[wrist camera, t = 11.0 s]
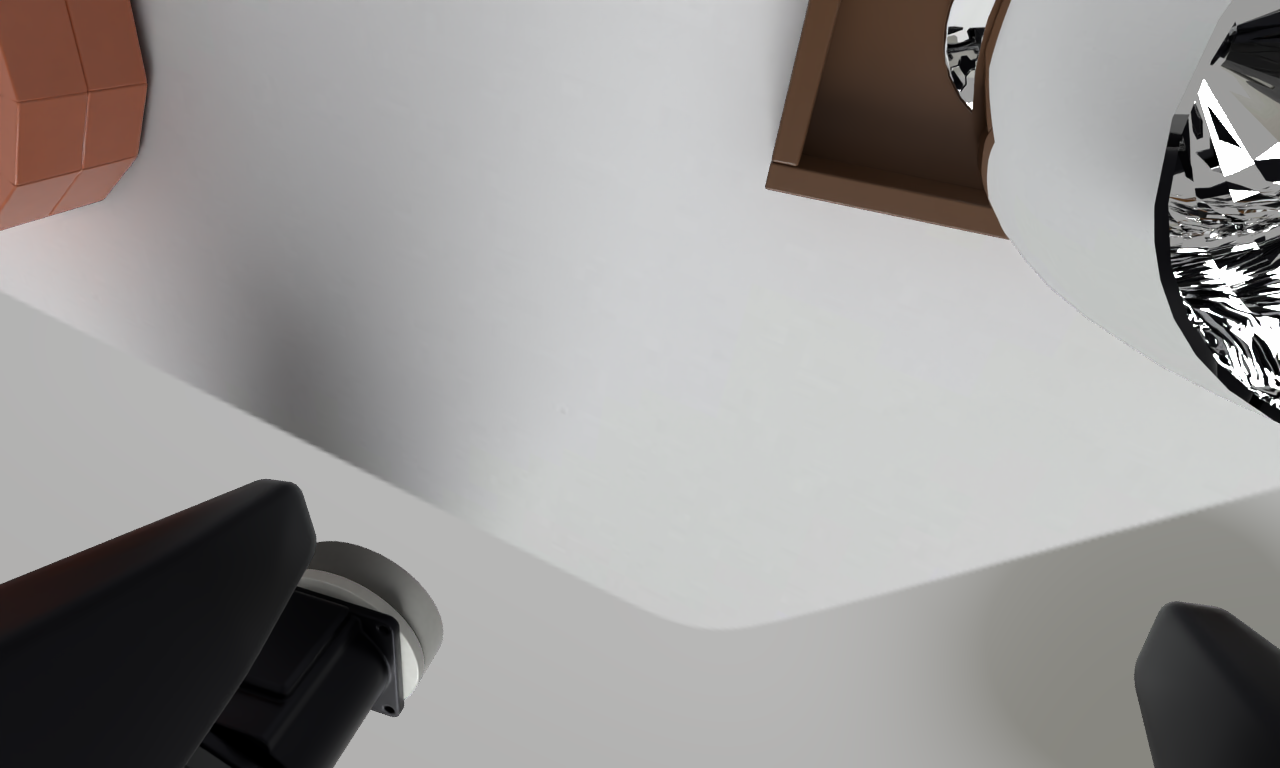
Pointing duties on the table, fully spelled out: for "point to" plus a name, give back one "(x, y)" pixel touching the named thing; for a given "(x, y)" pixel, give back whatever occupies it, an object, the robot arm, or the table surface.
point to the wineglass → (1139, 169)
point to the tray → (879, 117)
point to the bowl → (66, 104)
